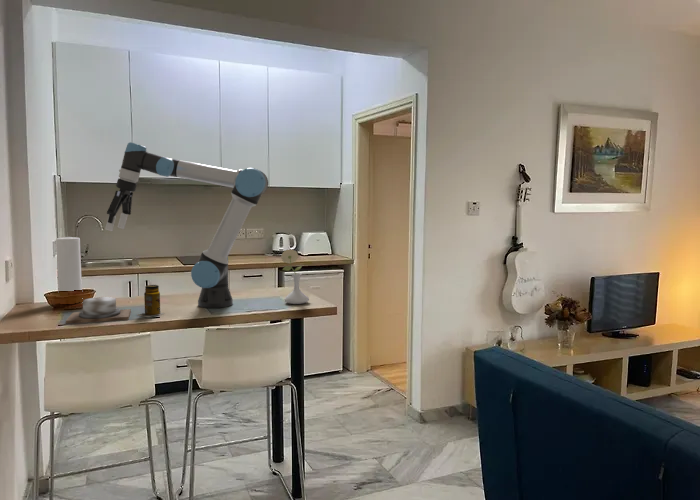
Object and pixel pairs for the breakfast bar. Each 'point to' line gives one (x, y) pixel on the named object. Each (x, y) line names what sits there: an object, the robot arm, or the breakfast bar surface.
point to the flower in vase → (296, 294)
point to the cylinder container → (69, 264)
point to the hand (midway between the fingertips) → (114, 229)
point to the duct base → (80, 320)
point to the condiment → (151, 301)
